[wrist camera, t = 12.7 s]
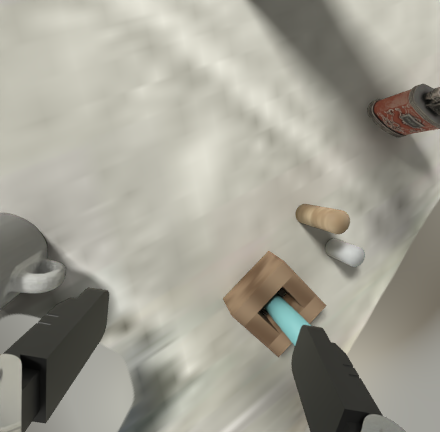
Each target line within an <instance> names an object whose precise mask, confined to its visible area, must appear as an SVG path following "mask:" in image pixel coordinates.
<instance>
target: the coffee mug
mask: <svg viewBox="0 0 440 432" xmlns="http://www.w3.org/2000/svg"><path fill="white" fill-rule="evenodd" d="M65 275H66V267H65V265H63V264H62V263H60V262H57V261H53V260H48V250H47V244H46V241H45V239H44V237H43V235H42V234H41V232H40V231H39V230H38V229H37V228H36V227H35V226H34V225H33V224H32V223H30V222H29V221H27V220H25V219H23V218H21V217H19V216H16V215H13V214H9V213H0V309H1V308H3V307H4V306H5V305H6V304H7V303H9V302H10V301H11V300H12V299H13V298H15V297H16V296H17V295H18V294H20V293H43V292H48V291H51V290H53V289H55V288H57V287H58V286H59V285H60V284H61V283H62V282H63V281H64V279H65Z"/></svg>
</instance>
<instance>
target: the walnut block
mask: <svg viewBox="0 0 440 432" xmlns="http://www.w3.org/2000/svg"><path fill="white" fill-rule="evenodd" d="M281 287H282V288H283V289H284V290H285V291H286V292H287V294H286V295H285V296H284V297H283V299H284V300H285V301H286V302H287V303H288V304H289V305H290V306H291V307H292V308H293V309H294V310H295V311H296V312H298V313H299V314H300V315H301V316H302V317H303V318H304V319H305V320H306V321H307V322H308V323H309V324H310V323H311V322H312V321H313V320H314V319H315V317H316V316H317V315H318V314H319V313H320V312H321V311H322V310H323V309H324V308H325V307H326V305H325V304H324V303H323V302H322V301H321V300H320V298H319V297H318V296H317V295H316V294H315V293H314V292H313V291H312V290H311V289H310V288H309V287H308V286H307V285H306V284H305V283H304V282H303V281H302V280H301V278H300V277H299V276H298V275H297V274H296V273H295V272H294V271H293V270H292V269H291V268H290V267H289V266H288V265H287V264H286V263H285V262H284V261H283V260H282V259H280V258H279V257H277V256H276V255H274V254H273V253H271V252H270V251H268V252H267V253H266V254H265V255H264V256H263V257H262V258H261V259H260V260H259V261H258V263H257V264H256V265H255V266H254V267H253V268H252V269H251V270H250V271H249V272H248V273H247V274H246V275H245V276H244V277H243V278H242V279H241V280H240V281H239V282H238V283H237V284H236V285H235V286H234V287H233V289H232V290H231V291H230V292H229V293H228V294H227V295H226V296H225V297H224V298H223V300H224V302H225V304H226V306H227V308H228V309H229V311H230V313H231V315H232V316H233V317H234V318H235V319H236V320H237V321H238V322H239V323H240V324H242V325H243V326H244V327H245V328H246V329H247V330H248V331H250V332H251V333H252V334H253V335H254V336H255V337H256V338H257V339H259V340H260V341H261V342H262V343H263V344H264V345H265V346H267V347H268V348H269V349H270V350H271V351H272V352H273V353H274V354H276V355H277V356H278V357H279V356H280V355H281V354H282V353H283V352H284V351H285V350H286V349H287V348H288V347H289V345H290V344H291V343H292V342H291V341H290V339H289V338H288V337H287V336H286V335H285V333H284V332H283V331H282V330H281V328H280V327H279V326H278V325H277V323H276V322H275V321H274V320H273V319H272V317H271V316H270V315H269V314H267V315H265V314H263V313H262V312H261V311H260V310H261V309H262V307H263V306H264V305H265V304H266V303H267V302H268V301H269V300H270V299H271V298H272V297H273V296H274V295H275V294H276V293H277V292H278V291H279V290H280V288H281Z"/></svg>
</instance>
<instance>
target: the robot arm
mask: <svg viewBox="0 0 440 432" xmlns="http://www.w3.org/2000/svg"><path fill="white" fill-rule="evenodd" d="M108 301H109V292H108V290H102V289H96V288H90V287H89V288H87V289H86V290H85V291H84V292H83V293H82V294H81V295H80V296H79V297H78V298H77V299H76V298H69V299H67V300H65V301H63V302H61V303H59V304H57V305H56V306H55V307H54V308H53V309H52V310H51V311H49V312H48V313H47V315H46V316H44V317H43V318H42V319H41V320H40V321H39V322H38V324H35V325H34V326H33V327H32V328H31V329H30V330H29V331H27V332H26V333H25V334H24V335H23V336H22V337H21V338H20V339H19V340H18V341H16V342H15V343H14V344H13V345H12V346H11V347H10V348H9V349H8V350H7V351H6V352H4V353H3V354H0V432H25V431H26V429H27V428H28V426H29V425H30V424H31V422H32V421H34V422H40V423H46V422H47V420H48V419H49V418H50V416H51V415H52V413H53V412H54V410H55V408H56V407H57V405H58V404H59V402H60V401H61V400H62V398H63V397H64V395H65V393H66V392H67V390H68V389H69V387H70V386H71V384H72V383H73V381H74V380H75V378H76V377H77V375H78V374H79V372H80V371H81V369H82V368H83V366H84V365H85V363H86V362H87V360H88V359H89V357H90V355H91V354H92V352H93V351H94V350H95V348H96V347H97V345H98V344H99V342H100V340H101V339H102V337H103V335H104V332H105V329H106V324H107V313H108ZM292 372H293V376H294V379H295V382H296V386H297V389H298V392H299V395H300V399H301V402H302V405H303V409H304V412H305V415H306V419H307V422H308V425H309V428H310V432H406V431H405V430H404V429H403V428H401V427H400V426H399V425H398V424H396V423H395V422H394V421H392V420H390V419H388V418H386V417H384V416H383V415H382V414H381V412H380V411H379V409H378V407H377V405H376V404H375V402H374V400H373V399H372V397H371V395H370V393H369V392H368V390H367V389H366V387H365V385H364V384H363V382H362V380H361V379H360V378H359V375H358V373H357V372H356V370H355V369H354V368H353V365H352V363H351V362H350V360H349V358H348V356H347V355H346V353H344V352H343V351H342V350H341V349H340V348H339V347H338V346H337V345H336V344H335V343H331V342H330V340H329V338H328V336H327V334H326V333H325V331H324V329H323V328H321V327H315V326H309V325H302V326H301V329H300V332H299V335H298V338H297V342H296V345H295V348H294V352H293V355H292Z"/></svg>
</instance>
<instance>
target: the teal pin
mask: <svg viewBox="0 0 440 432" xmlns="http://www.w3.org/2000/svg"><path fill="white" fill-rule="evenodd" d="M263 308H264V309H265V310H266V311H267V312H268V314H269V315H270V316H271V317H272V319H273V320H274V321H275V322H276V323H277V325H278V326H279V327H280V328H281V330H282V331H283V332H284V333H285V335H286V336H287V337H288V338H289V339H290V341H291V342H292V343H293V344H294V346H295V345H296V342H297V338H298V335H299V332H300V329H301V326H302V325H309V326H311V325H310V324H309V323H308V322H307V321H306V320H305V319H304V318H303V317H302V316H301V315H300V314H299V313H298V312H296V311H295V310H294V309H293V308H292V307H291V306H290V305H289V304H288V303H287V302H286V301H285V300H284V299H283V298H282V297H281V296H280V295H279V294H278V293H276V294H275V295H274V296H273V297H272V298H271V299H270V300H269V301H268V302H267V303H266V304H265V305H264V306H263Z"/></svg>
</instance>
